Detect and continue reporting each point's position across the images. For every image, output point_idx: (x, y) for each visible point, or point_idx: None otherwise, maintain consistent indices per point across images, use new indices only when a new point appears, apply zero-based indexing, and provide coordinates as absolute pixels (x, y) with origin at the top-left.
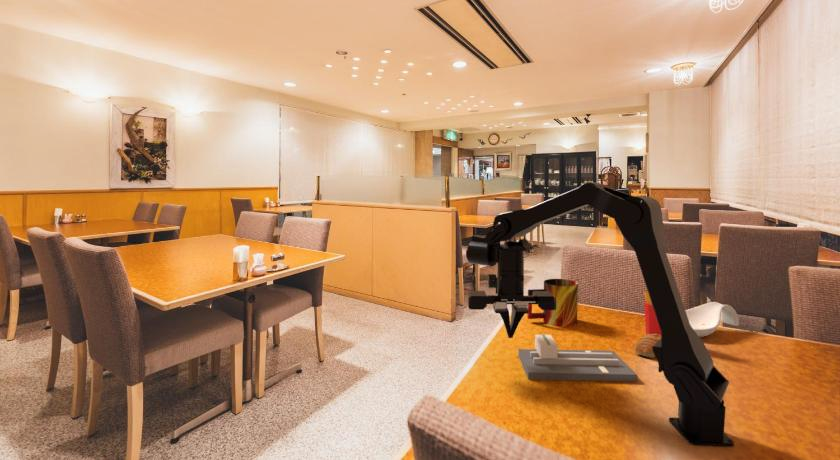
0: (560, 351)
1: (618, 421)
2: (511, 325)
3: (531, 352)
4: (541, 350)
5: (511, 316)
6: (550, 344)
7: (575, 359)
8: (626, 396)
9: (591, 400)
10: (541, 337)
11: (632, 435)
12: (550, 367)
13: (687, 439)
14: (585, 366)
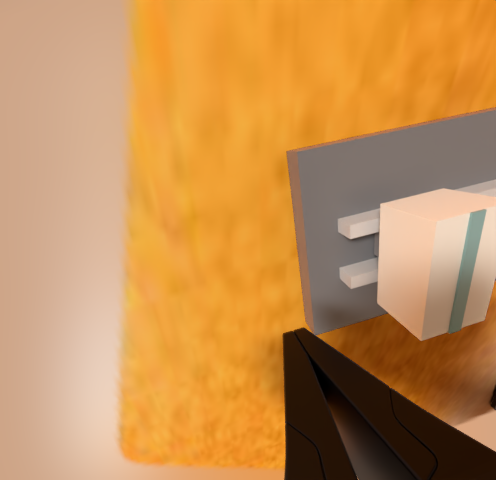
0: (463, 135)
1: (430, 394)
2: (342, 429)
3: (352, 236)
4: (402, 322)
5: (395, 467)
6: (460, 328)
7: None
8: (488, 318)
9: (417, 355)
10: (454, 256)
11: None
12: None
13: (493, 405)
14: None
